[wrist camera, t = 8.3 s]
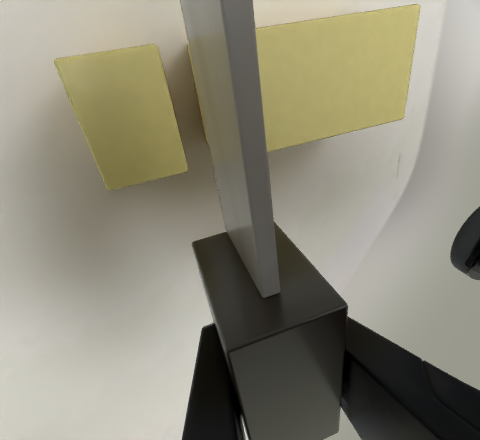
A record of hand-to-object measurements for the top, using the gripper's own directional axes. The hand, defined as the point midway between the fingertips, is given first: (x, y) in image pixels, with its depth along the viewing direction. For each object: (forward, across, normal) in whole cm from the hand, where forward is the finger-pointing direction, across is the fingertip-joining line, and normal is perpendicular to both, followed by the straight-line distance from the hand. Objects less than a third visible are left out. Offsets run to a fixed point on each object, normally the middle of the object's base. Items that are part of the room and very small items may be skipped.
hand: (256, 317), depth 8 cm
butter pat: (+6, +2, -6) cm, 8 cm away
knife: (+1, 0, -3) cm, 3 cm away
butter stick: (+6, -4, -6) cm, 9 cm away
